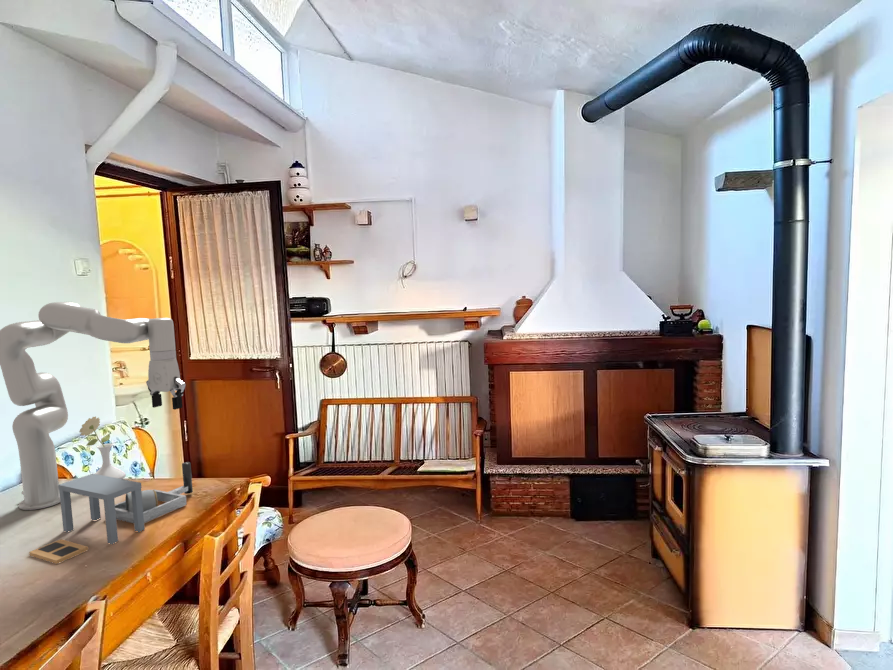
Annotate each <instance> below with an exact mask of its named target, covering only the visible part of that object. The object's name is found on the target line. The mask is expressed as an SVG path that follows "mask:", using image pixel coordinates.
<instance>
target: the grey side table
mask: <svg viewBox="0 0 893 670" xmlns="http://www.w3.org/2000/svg"><path fill="white" fill-rule="evenodd" d="M58 488H59V492H60V510H61V521H62V530H63V532H64V531H66V532H65V533H67V532H68V531H70V532H72V531H71V530H73V529H74V528H75V527H74V519H73V510H72V501H71V494H75V495H80V496H83V497H84V496H86V497H88V503H89V511H90V512H89V513H90V520H91V519H92V520H97V519H99V518H101V508H100V500H102V501H103V506H104V507H103V508H104V509H103V510H104V519H105V530H106V539H107V540H106V541H107V544H108V543H110V544H109V545H111V544H112V545H114V544H116V543H115V542H117V541H118V542H119V537H118V535H119V534H118V525H117V519H116V513H115V504H116V503H115V498H119V497H121V496H124V495H126V494H127V493H131V495H132V506H133V517H134V523H133V527H134V528H133V529H134V532H135V531H138V532H137V533H140V531H141V532H143V531H145V530H146V529H145V528H146V527H145V523H144V516H143V504H142V493H141V491H142V488H143V487H142V482H138V481H134V480H128V479H125V478H124V479H119V478H113V477H108V476H103V475H98V474H95V473H90V474H88V475H85V476H81V477H78V478H75V479H72V480H69V481H66V482H63V483H59V485H58ZM97 521H98V520H97ZM144 529H145V530H144ZM74 530H75V529H74ZM74 530H73V531H74ZM142 530H143V531H142ZM68 533H69V532H68ZM118 542H117V543H118ZM113 543H114V544H113Z"/></svg>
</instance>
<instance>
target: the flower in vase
mask: <svg viewBox="0 0 893 670" xmlns="http://www.w3.org/2000/svg"><path fill="white" fill-rule="evenodd" d="M100 423H101V419H100V417H97V416H92V417H91V418H90V417H89V418H88V419H86V421H85V422H84V423H83V424H82V425H81V427H80V429H79V431H78V432H79V435H80V436H83V437H87V436H90V435H92V434H93V433H94V435H95V437H96V438H92V439H90V440H89V441H88V442H87V444H86V446H94V445H96V443H98V442H99V443H100V444H99V445H97V446H96V448H97V449H98V450H99V451H100V454H101V459H102V465H101V467H100V468H99V469H98V470H97V471H96V472H94V474H98V475H103V476H108V477H113V478H119V479H124V480H125V477H126V476H127V474H126V472H125V471H123V470H122V469H120V468H118V467H116V466H114V465H112V463H111V458H110V456H111V454H110V453H111V449H112V447H113V445H114V443H106V442H108V441H109V440H110V438H111V434H110V433H108V434H106V435H105V436H103V437H102V438H100V439H101V440H100V439H99V437H98V434H97V432H96V431H97V429H98V428H99V426H100Z"/></svg>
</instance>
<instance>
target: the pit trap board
mask: <svg viewBox="0 0 893 670" xmlns="http://www.w3.org/2000/svg"><path fill="white" fill-rule="evenodd" d="M86 550H88V551H89V546H86V545H83V544H80V543H76V542H73V541H69V540H65V539H62V538H61V539H58V540H56V541H55V540H54V541H53V542H50V543H48V544H46V545H45V544H44V545H42V546H40V547H38V548H36V549H34V550H31V551H29V552H28V553H29V554H28V555H29V557H32V556H33V557H32V558H35V557H36V559H39V560H42V559H43V560H42V561H45V560H46V562H48V561H50V562H49V563H51V562H53V563H52V564H54V563H55V565H58V564H57V563H59V562H61V563H63V562H65V561H67V560H66V559H68V560H70V559H71V557H72V558H74V557H76V556H75V555H77V556H79V555H81V554H83V553H85V552H84V551H86ZM82 552H83V553H82ZM86 552H87V551H86ZM80 553H81V554H80ZM78 554H79V555H78ZM73 556H74V557H73ZM69 558H70V559H69ZM64 560H65V561H64ZM62 561H63V562H62ZM59 564H60V563H59Z"/></svg>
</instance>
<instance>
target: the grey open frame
mask: <svg viewBox="0 0 893 670" xmlns="http://www.w3.org/2000/svg"><path fill="white" fill-rule="evenodd" d="M191 464H192V463H191V462H190V461H186V462H185V461H184V462H183V463H181V467H182V468H181V469H182V481H183V485H182V486H179V487H176V488H173V489H172V490H169V491H165V490H160V489H154V490H155V491H156V494H157V500H158V502H163V503H162V504H158V506H157V507H154V508H152V509H150V510H147V511H145V512H143V516H144V524H146V523H149V522H151V521H153V520H155V519H157V518H160V517H162V516H164V515H166V514H169V513H171V512H173V511H176V510H178V509H180V508H182V507H185V506H187V494H192V493H193V492H194V491H193V475H192V465H191ZM183 493H184V494H185V495H184V494H183ZM115 513H116V520H117V519H118V520H117V521H121V520H122V522H125V521H126V523H130V524H134V517H133V512H132V511H128V510H126V502H125V500H124V501H120V502H118V503H115Z"/></svg>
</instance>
